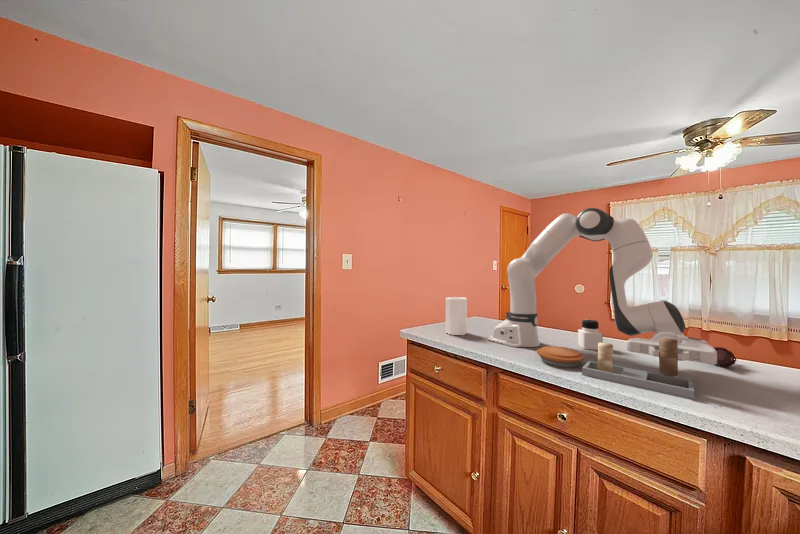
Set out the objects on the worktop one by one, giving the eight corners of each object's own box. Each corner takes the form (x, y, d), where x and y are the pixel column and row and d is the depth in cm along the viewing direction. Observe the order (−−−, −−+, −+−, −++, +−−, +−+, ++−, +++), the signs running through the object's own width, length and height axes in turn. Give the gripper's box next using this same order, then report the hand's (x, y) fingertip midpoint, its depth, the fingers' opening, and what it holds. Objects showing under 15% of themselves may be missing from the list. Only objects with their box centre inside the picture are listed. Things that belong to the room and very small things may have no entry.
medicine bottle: (602, 350, 126) (603, 322, 125) (584, 349, 127) (584, 321, 127) (595, 345, 133) (595, 319, 132) (577, 345, 134) (578, 318, 134)
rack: (582, 375, 97) (582, 367, 97) (588, 367, 104) (588, 360, 104) (694, 400, 79) (694, 390, 79) (692, 388, 87) (692, 380, 87)
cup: (470, 333, 156) (471, 297, 156) (460, 337, 148) (460, 299, 148) (452, 330, 164) (452, 296, 164) (441, 333, 155) (441, 298, 155)
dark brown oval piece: (743, 355, 98) (735, 349, 109) (711, 345, 103) (707, 341, 114) (735, 374, 99) (728, 367, 110) (704, 364, 104) (700, 358, 115)
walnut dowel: (659, 373, 86) (658, 339, 86) (659, 370, 89) (659, 337, 89) (677, 377, 84) (677, 341, 84) (677, 373, 87) (677, 339, 87)
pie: (590, 363, 109) (590, 350, 109) (574, 373, 99) (574, 358, 99) (547, 354, 121) (547, 341, 121) (529, 362, 110) (529, 348, 110)
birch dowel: (596, 374, 97) (596, 344, 97) (598, 371, 100) (599, 341, 100) (611, 378, 94) (611, 346, 94) (613, 374, 97) (613, 344, 97)
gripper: (628, 331, 103) (623, 338, 93) (714, 341, 89) (719, 351, 79) (628, 349, 103) (623, 358, 93) (714, 362, 89) (719, 375, 79)
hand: (668, 355), depth 86 cm, fingers closed on walnut dowel, 4 cm apart
